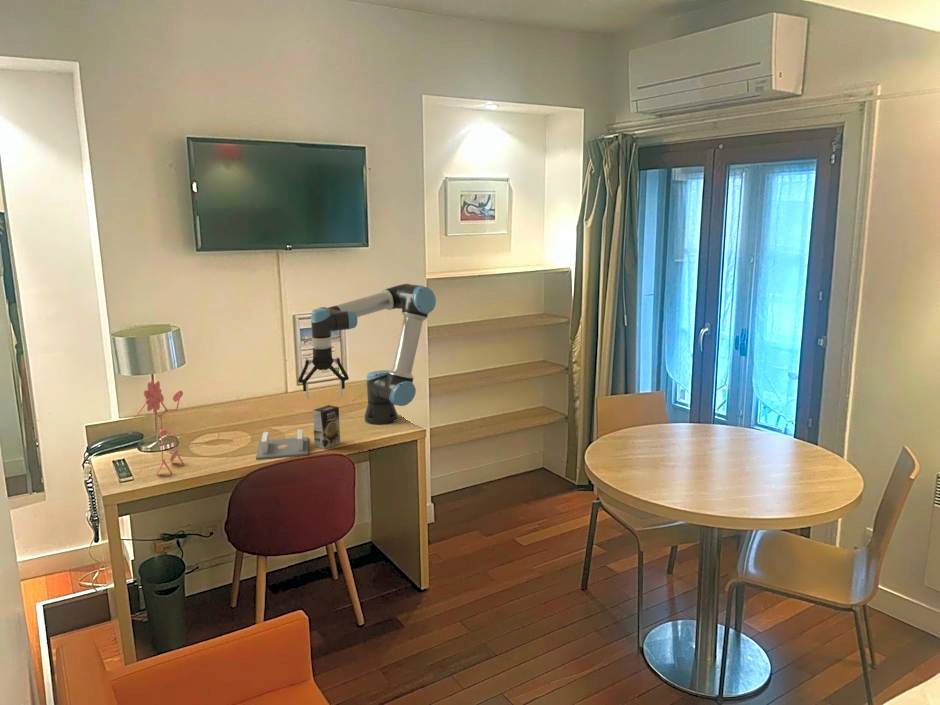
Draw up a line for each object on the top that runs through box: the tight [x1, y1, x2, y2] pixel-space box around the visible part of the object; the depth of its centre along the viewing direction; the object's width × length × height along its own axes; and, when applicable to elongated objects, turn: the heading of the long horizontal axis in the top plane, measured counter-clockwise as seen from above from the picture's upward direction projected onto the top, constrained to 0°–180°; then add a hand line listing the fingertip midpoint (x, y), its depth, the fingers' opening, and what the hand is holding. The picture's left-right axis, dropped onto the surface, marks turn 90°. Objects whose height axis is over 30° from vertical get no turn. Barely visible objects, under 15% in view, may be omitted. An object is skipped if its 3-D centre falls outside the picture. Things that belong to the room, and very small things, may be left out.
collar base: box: [255, 428, 309, 460], centre depth 282 cm, size 20×20×6 cm
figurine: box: [134, 379, 185, 475], centre depth 259 cm, size 15×26×35 cm, turn 175°
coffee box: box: [312, 404, 341, 450], centre depth 285 cm, size 9×6×16 cm
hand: (324, 397), depth 282 cm, fingers open, 13 cm apart
